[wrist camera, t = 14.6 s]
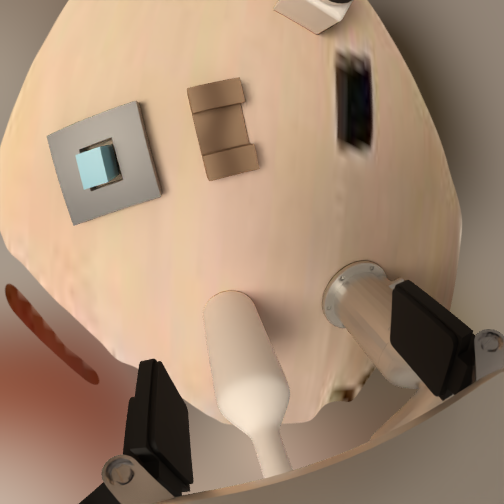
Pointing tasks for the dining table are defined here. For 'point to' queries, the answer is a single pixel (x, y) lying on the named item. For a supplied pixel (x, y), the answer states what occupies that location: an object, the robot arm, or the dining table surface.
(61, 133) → the port block
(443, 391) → the robot arm
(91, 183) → the plug
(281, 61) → the dining table surface
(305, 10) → the medicine bottle
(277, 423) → the bottle
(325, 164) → the dining table surface
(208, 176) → the brown notched block
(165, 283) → the dining table surface
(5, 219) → the dining table surface
